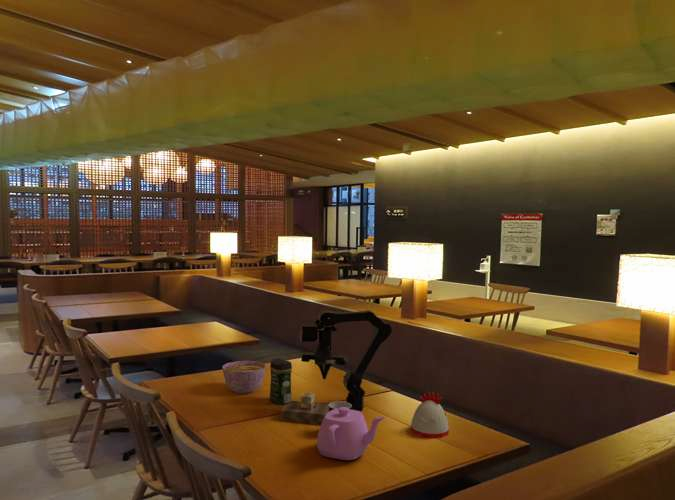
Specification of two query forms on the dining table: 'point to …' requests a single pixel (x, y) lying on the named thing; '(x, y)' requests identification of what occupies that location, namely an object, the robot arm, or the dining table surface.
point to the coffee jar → (280, 381)
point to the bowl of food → (244, 375)
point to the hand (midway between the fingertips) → (324, 379)
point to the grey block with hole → (304, 413)
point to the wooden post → (307, 401)
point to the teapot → (345, 434)
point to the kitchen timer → (430, 418)
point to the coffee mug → (339, 405)
